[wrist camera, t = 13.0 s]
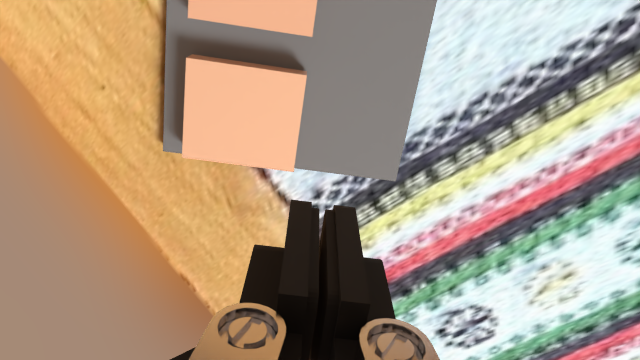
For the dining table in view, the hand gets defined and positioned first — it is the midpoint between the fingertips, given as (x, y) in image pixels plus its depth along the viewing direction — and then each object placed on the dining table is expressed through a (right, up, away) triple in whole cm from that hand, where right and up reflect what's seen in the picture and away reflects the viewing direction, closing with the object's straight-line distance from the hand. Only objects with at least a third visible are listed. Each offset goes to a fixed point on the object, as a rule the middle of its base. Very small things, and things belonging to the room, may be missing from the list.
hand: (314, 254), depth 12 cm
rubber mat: (-1, +11, +21) cm, 24 cm away
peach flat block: (-1, +6, +21) cm, 22 cm away
